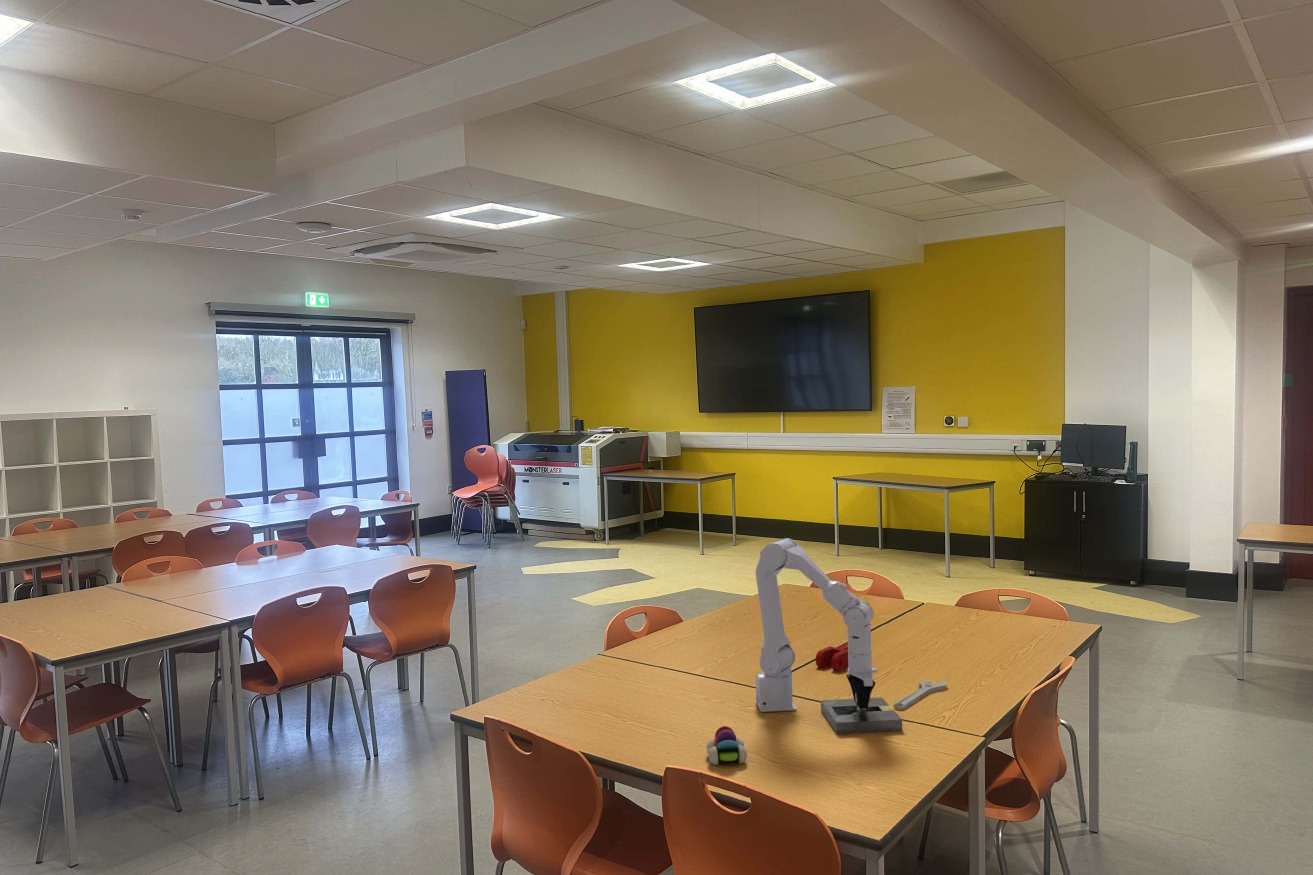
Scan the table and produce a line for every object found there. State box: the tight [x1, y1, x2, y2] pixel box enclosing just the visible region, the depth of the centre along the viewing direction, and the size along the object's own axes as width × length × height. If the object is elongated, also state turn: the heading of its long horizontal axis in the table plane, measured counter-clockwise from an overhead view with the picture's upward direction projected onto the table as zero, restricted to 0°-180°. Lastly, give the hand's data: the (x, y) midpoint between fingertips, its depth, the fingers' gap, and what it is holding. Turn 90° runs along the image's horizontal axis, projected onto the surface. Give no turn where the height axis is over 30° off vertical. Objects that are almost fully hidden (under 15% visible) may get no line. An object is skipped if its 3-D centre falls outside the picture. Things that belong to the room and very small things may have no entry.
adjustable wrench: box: [893, 679, 948, 711], centre depth 232 cm, size 25×6×2 cm, turn 133°
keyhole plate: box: [820, 696, 903, 735], centre depth 215 cm, size 16×16×3 cm
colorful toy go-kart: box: [706, 725, 748, 766], centre depth 194 cm, size 8×10×7 cm
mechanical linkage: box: [815, 643, 849, 672], centre depth 262 cm, size 16×7×5 cm, turn 136°
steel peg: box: [853, 692, 867, 714], centre depth 215 cm, size 4×4×8 cm
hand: (861, 705), depth 215 cm, fingers closed on steel peg, 3 cm apart
